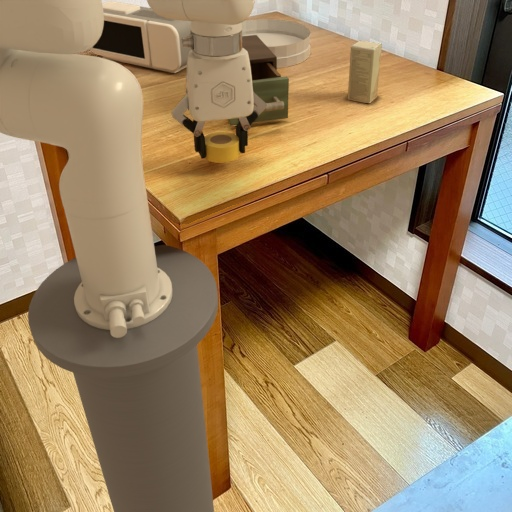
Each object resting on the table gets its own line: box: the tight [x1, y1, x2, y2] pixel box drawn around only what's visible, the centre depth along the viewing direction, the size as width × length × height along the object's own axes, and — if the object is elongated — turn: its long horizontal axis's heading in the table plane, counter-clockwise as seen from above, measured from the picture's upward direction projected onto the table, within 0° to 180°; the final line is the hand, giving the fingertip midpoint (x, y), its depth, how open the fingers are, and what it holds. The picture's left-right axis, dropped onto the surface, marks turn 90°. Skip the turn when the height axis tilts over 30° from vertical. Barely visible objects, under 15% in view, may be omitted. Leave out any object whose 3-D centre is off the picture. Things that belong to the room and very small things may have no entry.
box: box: [347, 40, 383, 104], centre depth 120 cm, size 5×4×11 cm
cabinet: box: [242, 35, 278, 71], centre depth 123 cm, size 15×13×10 cm
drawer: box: [228, 62, 290, 127], centre depth 114 cm, size 18×11×8 cm, turn 16°
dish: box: [242, 18, 312, 69], centre depth 145 cm, size 22×22×5 cm
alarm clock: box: [88, 0, 192, 74], centre depth 139 cm, size 27×9×12 cm, turn 60°
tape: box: [204, 131, 240, 164], centre depth 99 cm, size 6×6×3 cm
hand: (221, 151), depth 100 cm, fingers closed on tape, 6 cm apart
